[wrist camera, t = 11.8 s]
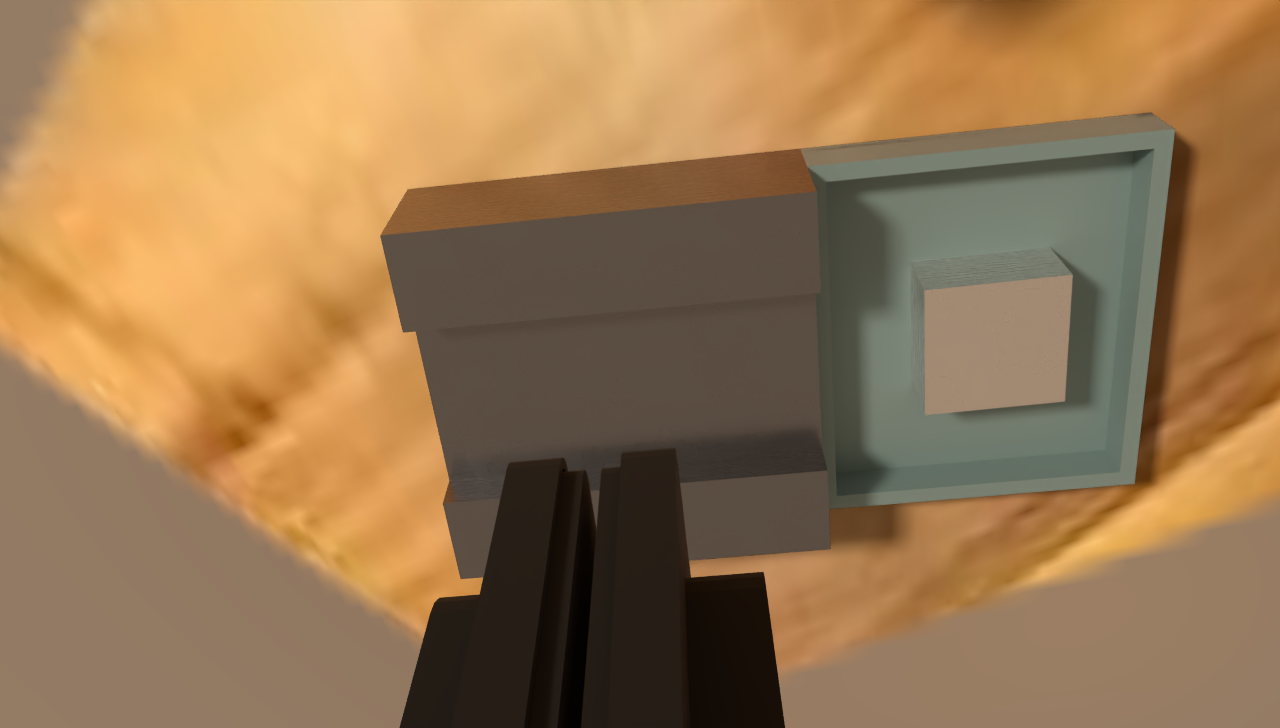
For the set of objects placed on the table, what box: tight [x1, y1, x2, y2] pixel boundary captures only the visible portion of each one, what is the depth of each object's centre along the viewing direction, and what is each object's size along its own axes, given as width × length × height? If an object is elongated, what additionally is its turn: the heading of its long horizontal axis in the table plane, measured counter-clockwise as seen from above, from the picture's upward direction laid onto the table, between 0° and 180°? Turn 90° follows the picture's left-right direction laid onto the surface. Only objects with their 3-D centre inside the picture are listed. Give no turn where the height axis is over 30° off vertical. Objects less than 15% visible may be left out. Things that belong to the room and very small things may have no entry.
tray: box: [801, 113, 1175, 509], centre depth 41 cm, size 12×14×2 cm
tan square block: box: [910, 247, 1073, 415], centre depth 40 cm, size 5×5×2 cm
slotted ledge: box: [380, 149, 831, 579], centre depth 41 cm, size 14×14×4 cm
